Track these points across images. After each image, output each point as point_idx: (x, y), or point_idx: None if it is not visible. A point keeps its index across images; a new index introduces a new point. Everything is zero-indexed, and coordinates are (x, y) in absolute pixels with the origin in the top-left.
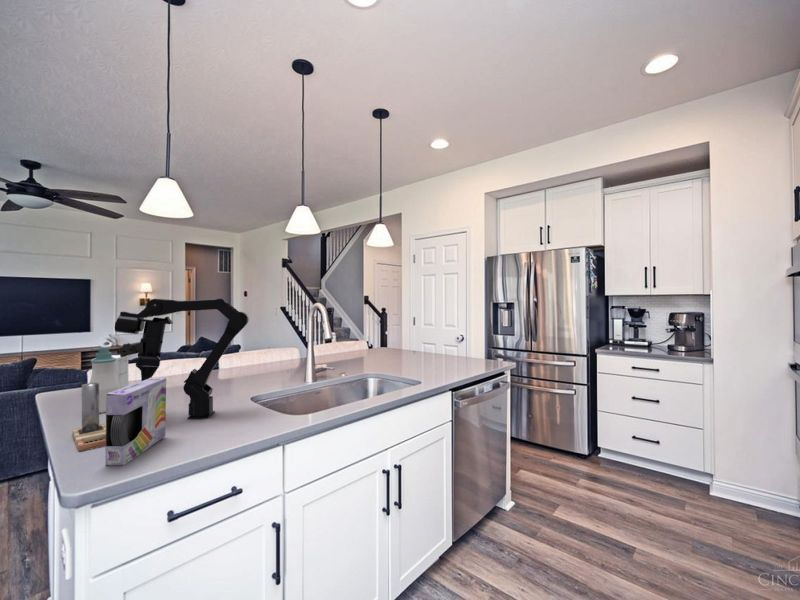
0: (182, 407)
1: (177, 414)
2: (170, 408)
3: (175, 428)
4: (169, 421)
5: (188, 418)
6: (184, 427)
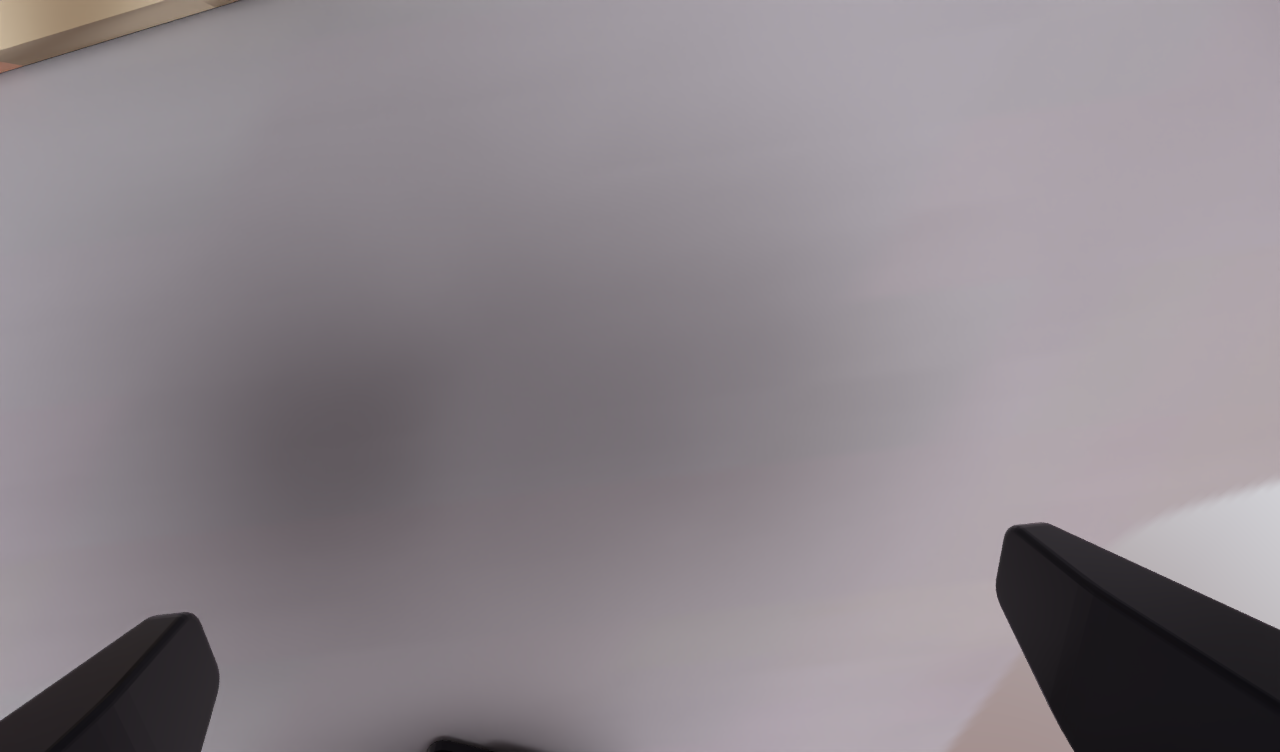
0: (966, 635)
1: (695, 623)
2: (1004, 528)
3: None
4: (443, 583)
5: (431, 747)
6: None
